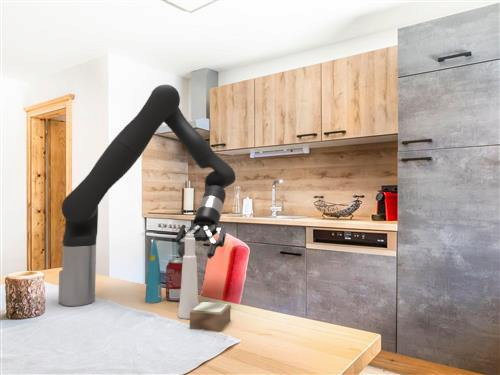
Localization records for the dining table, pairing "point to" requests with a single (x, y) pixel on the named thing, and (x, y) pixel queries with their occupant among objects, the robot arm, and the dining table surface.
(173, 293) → the soda can
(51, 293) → the dining table surface
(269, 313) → the dining table surface
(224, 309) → the pedestal
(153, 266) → the tube
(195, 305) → the cosmetic bottle
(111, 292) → the dining table surface
